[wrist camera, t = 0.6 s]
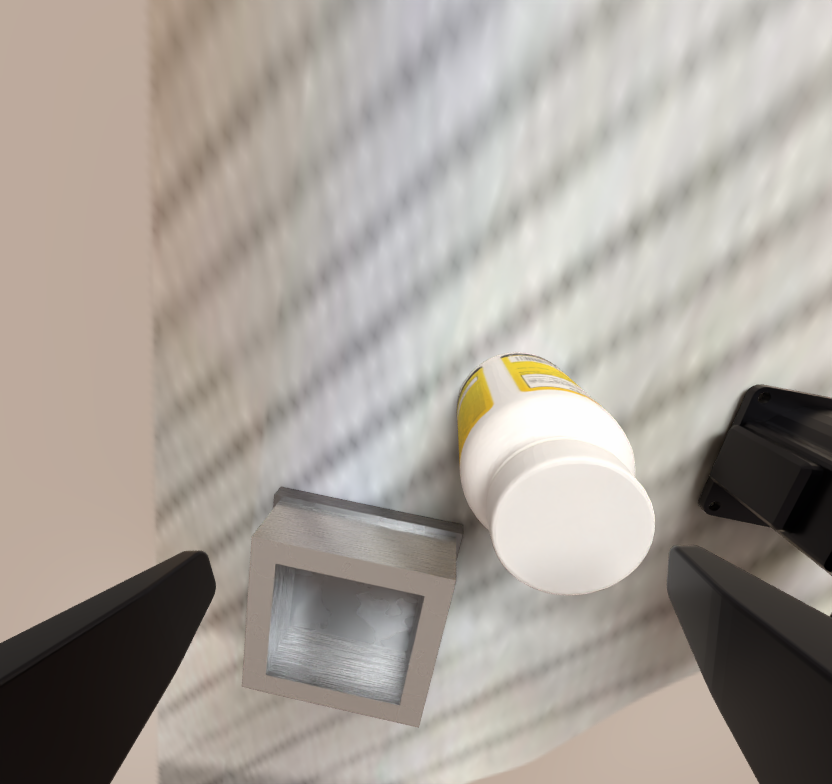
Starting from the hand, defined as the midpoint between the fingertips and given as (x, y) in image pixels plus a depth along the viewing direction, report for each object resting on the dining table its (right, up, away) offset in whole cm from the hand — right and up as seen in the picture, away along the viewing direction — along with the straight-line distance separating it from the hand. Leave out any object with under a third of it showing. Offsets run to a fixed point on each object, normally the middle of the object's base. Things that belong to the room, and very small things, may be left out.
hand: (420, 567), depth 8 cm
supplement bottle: (+5, +3, +12) cm, 13 cm away
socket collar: (-3, -7, +15) cm, 17 cm away
